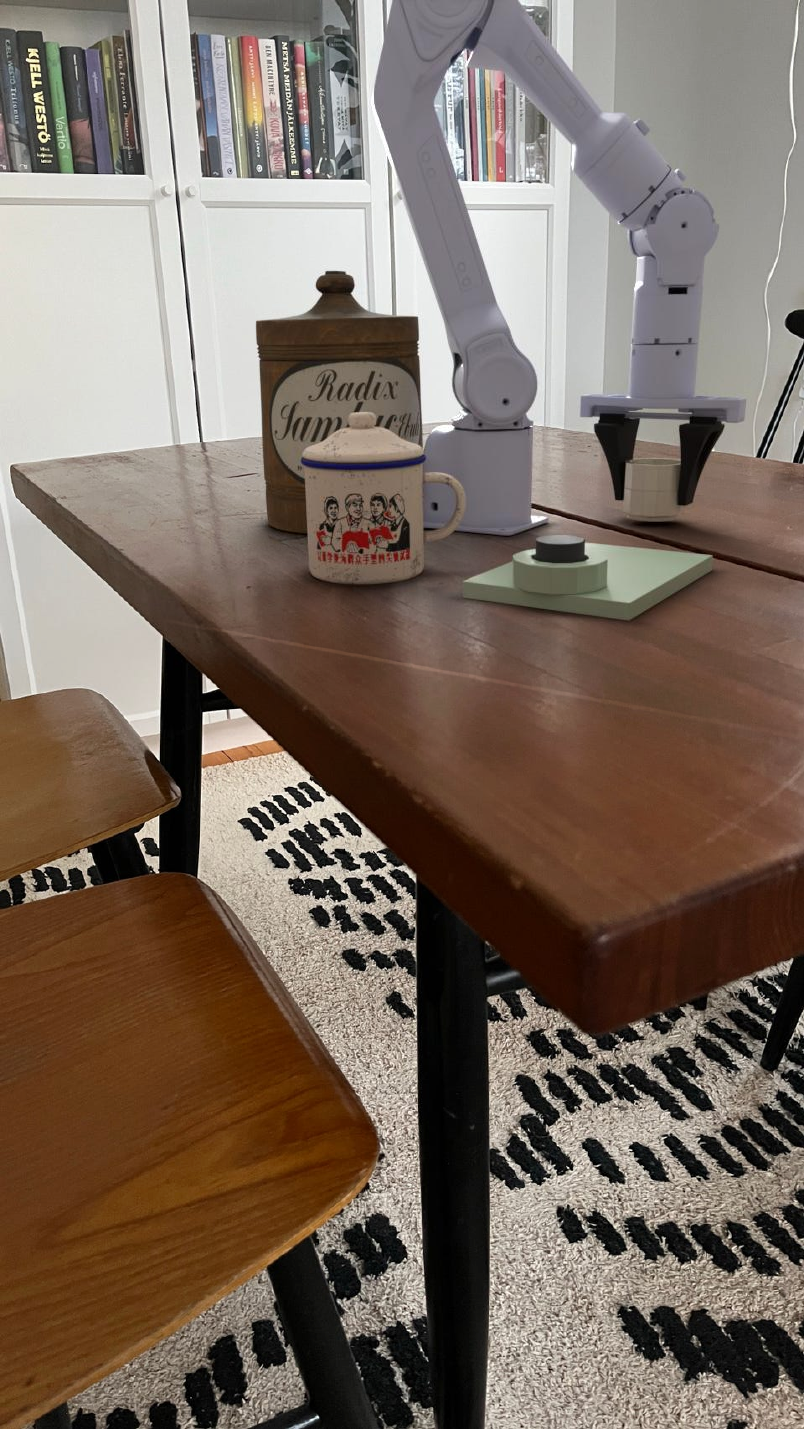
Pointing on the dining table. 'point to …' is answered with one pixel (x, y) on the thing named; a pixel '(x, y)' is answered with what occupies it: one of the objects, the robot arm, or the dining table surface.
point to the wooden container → (330, 385)
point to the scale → (591, 580)
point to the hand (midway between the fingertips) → (653, 501)
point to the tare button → (560, 549)
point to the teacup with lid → (369, 505)
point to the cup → (652, 489)
